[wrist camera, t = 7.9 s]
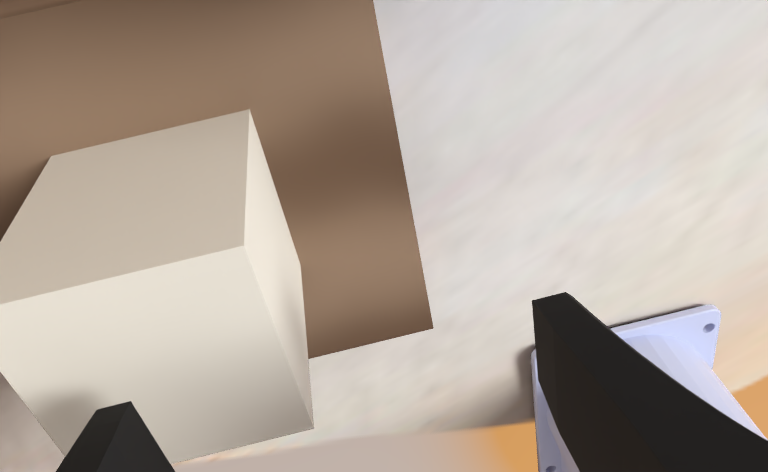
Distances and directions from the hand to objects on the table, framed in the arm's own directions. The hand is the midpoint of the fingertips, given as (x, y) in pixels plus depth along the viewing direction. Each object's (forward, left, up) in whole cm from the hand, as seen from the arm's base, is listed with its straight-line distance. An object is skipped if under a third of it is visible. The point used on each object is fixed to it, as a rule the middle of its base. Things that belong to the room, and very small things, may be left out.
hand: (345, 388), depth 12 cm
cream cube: (0, +4, -7) cm, 8 cm away
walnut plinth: (0, +4, -10) cm, 11 cm away
